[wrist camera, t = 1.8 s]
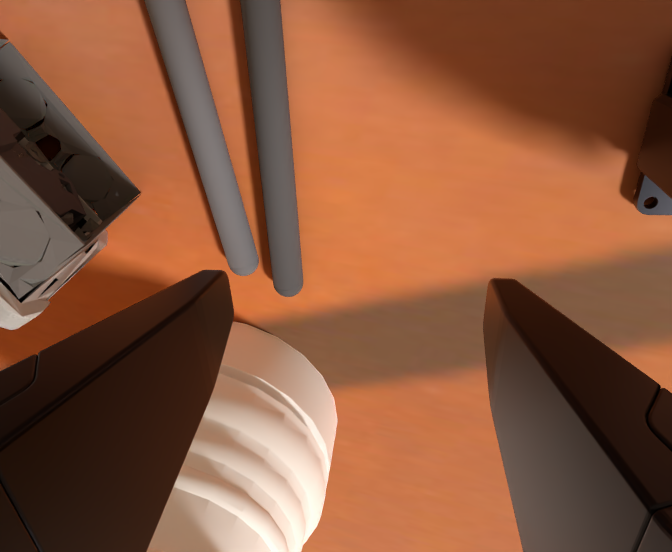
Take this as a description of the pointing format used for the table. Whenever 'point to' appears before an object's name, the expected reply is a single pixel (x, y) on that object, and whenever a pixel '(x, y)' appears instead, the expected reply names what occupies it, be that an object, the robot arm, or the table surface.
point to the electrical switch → (48, 193)
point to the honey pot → (254, 454)
